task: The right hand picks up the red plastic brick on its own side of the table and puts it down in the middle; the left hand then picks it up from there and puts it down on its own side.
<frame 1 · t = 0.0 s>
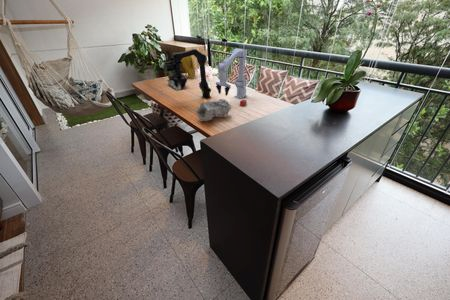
left hand: (179, 88, 176), 15 cm above the table, tool pointing down, fingers open, 9 cm apart
right hand: (223, 94, 177), 10 cm above the table, tool pointing down, fingers open, 7 cm apart
brick: (243, 105, 183), on the table
sculpture: (188, 77, 263), on the table
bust: (214, 118, 160), on the table
gray rock: (176, 86, 230), on the table
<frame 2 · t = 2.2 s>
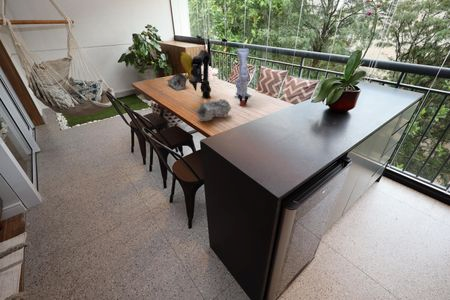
left hand: (199, 91, 177), 12 cm above the table, tool pointing down, fingers open, 9 cm apart
right hand: (243, 103, 182), 1 cm above the table, tool pointing down, fingers closed on brick, 4 cm apart
brick: (243, 105, 183), on the table, touching right hand
everything else where it was.
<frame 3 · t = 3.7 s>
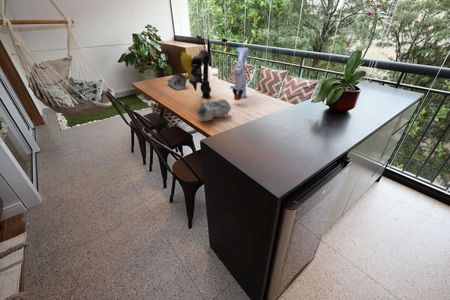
left hand: (199, 91, 177), 12 cm above the table, tool pointing down, fingers open, 9 cm apart
right hand: (237, 97, 182), 6 cm above the table, tool pointing down, fingers closed on brick, 4 cm apart
brick: (237, 99, 182), point 5 cm above the table, touching right hand
everything else where it was.
when the right hand's fingers open (2 cm above the table, at t = 5.6 s): brick stays where it is, on the table.
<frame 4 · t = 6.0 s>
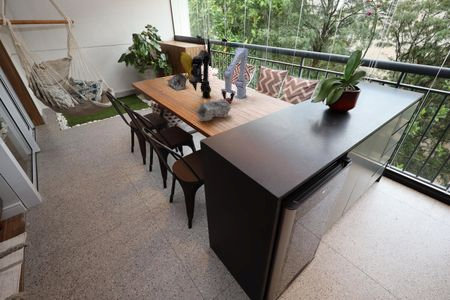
left hand: (199, 91, 177), 12 cm above the table, tool pointing down, fingers open, 9 cm apart
right hand: (228, 100, 187), 3 cm above the table, tool pointing down, fingers open, 7 cm apart
brick: (228, 102, 188), on the table
everything else where it was.
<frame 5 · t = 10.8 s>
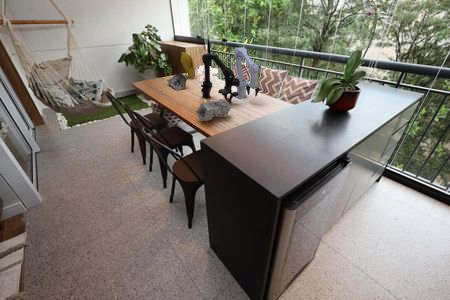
left hand: (228, 101, 187), 1 cm above the table, tool pointing down, fingers closed on brick, 4 cm apart
right hand: (252, 95, 184), 7 cm above the table, tool pointing down, fingers open, 7 cm apart
brick: (228, 102, 188), on the table, touching left hand
everything else where it was.
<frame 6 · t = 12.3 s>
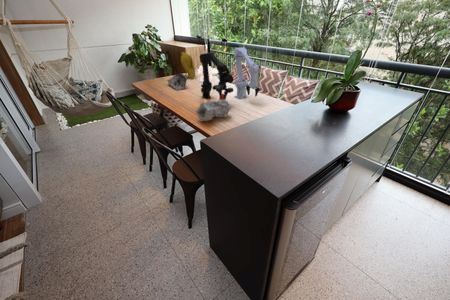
left hand: (222, 98, 182), 6 cm above the table, tool pointing down, fingers closed on brick, 4 cm apart
right hand: (252, 95, 184), 7 cm above the table, tool pointing down, fingers open, 7 cm apart
brick: (222, 99, 182), point 5 cm above the table, touching left hand
everything else where it was.
when the left hand's fingers open (2 cm above the table, at t = 13.9 s): brick stays where it is, on the table.
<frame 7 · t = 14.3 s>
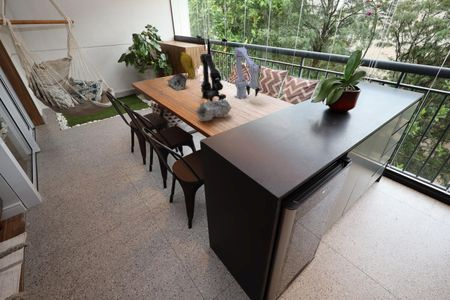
left hand: (215, 104, 180), 2 cm above the table, tool pointing down, fingers open, 8 cm apart
right hand: (252, 95, 184), 7 cm above the table, tool pointing down, fingers open, 7 cm apart
brick: (215, 106, 181), on the table
everything else where it was.
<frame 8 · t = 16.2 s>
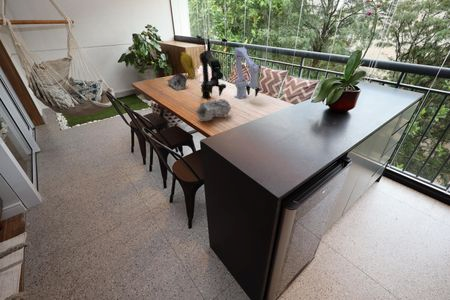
left hand: (215, 95, 175), 10 cm above the table, tool pointing down, fingers open, 9 cm apart
right hand: (252, 95, 184), 7 cm above the table, tool pointing down, fingers open, 7 cm apart
nothing on the table moved.
at the end: brick inside the target area (0.0 cm from its centre), on the table; brick tilted 0°; the two hands never held the brick at the same time; the left hand is holding nothing; the right hand is holding nothing; brick at rest at the end (0.0 cm/s) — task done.
